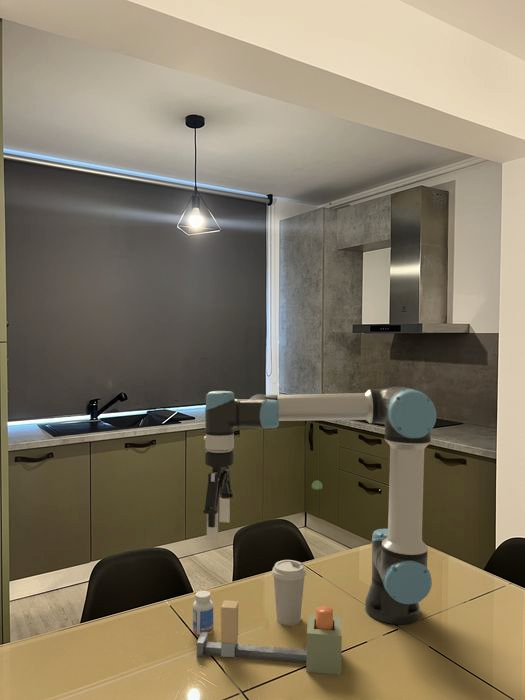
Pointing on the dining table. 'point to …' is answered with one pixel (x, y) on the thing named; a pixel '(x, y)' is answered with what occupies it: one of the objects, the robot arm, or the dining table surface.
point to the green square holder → (324, 647)
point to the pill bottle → (202, 613)
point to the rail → (251, 651)
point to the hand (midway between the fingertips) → (218, 530)
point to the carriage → (229, 628)
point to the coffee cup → (288, 591)
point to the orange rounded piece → (324, 618)
